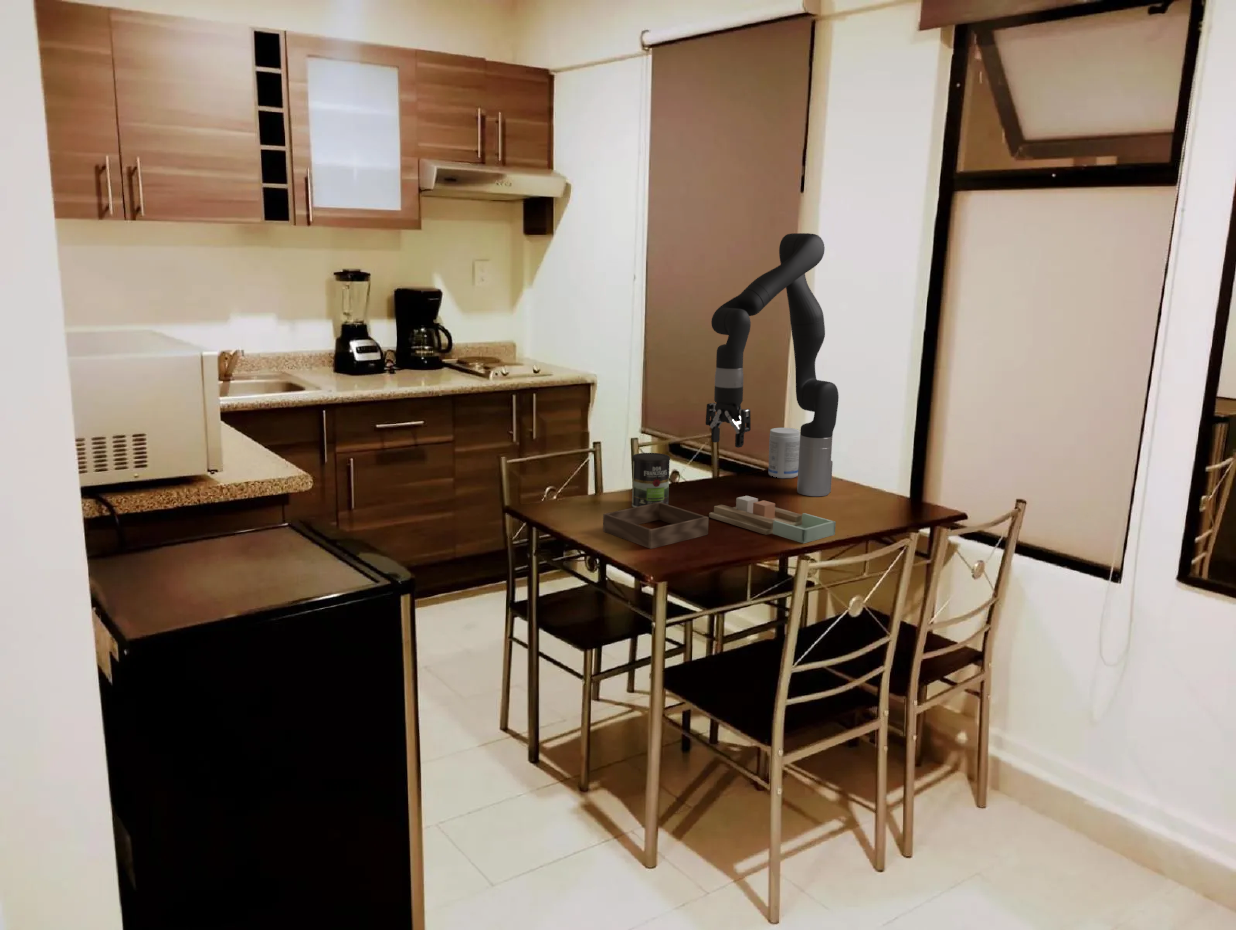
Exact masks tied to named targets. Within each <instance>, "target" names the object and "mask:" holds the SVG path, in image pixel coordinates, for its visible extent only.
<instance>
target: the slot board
mask: <svg viewBox="0 0 1236 930" xmlns="http://www.w3.org/2000/svg"><path fill="white" fill-rule="evenodd" d="M708 517H709V518H711V519H713V520H717V521H721V522H724V523H727V524H731V525H733V526H737V527H740V528H743V529H747V530H750V531H753V532H756V533H759V534H763V535H770V534H773V521H775V520H776V521H780V522H783V523H786V524H790V525H793V526H799V525H802V514H801V513H797V512H794V511H790V510H787V509H783V508H779V507H776V506H775V518H773V519H770V518H766V517H763V516H759V515H756V514H752V513H749V512H746V511H742V510H739V509H736V506H733V507H731V506H728V505H724V504H719V505H714V506H713V511H712V512H711V511H710V512H709V514H708Z"/></svg>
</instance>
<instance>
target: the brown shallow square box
mask: <svg viewBox="0 0 1236 930" xmlns="http://www.w3.org/2000/svg"><path fill="white" fill-rule="evenodd" d="M602 516H603V517H602V519H603V520H602V532H604V533H607V534H610V535H611V536H612V535H613V536H615V537H618V538H620V539H623V540H626V541H629V542H631V543H633V544H637V545H640V546H642V547H645V548H647V549H656V548H660V547H664V546H667V545H671V544H677V543H680V542H684V541H687V540H692V539H696V538H700V537H703V536H707V535H709V521H710V520H709V518H710V517H709V516H706V515H704V514H699V513H697V512H694V511H691V510H686V509H684V508H681V507H677V506H673V505H670V504H669V503H668V504H664V503H661V502H658V503H653V504H648V505H644V506H639V507H630V508H625V509H621V510H620V509H619V510H615V511H612V512H607V513H605V512H604V513H603V514H602ZM655 521H662V522H664V523H665V522H666V523H668V524H667V525H664V526H660V527H655V528H649V527H646V526H643V525H641V524H645V523H646V524H647V523H651V522H655Z"/></svg>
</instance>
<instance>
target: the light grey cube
mask: <svg viewBox="0 0 1236 930" xmlns="http://www.w3.org/2000/svg"><path fill="white" fill-rule="evenodd" d="M758 501H759V498H756V497H753V496H749V495H745V496H744V495H743V496H739V497H736V500H735V504H736V505H735V507H736V509H739V510H742V511H746V512H749V513H752V514H753V503H754V502H758Z"/></svg>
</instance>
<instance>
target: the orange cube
mask: <svg viewBox="0 0 1236 930" xmlns="http://www.w3.org/2000/svg"><path fill="white" fill-rule="evenodd" d="M775 507H776V503H775V502H771V501H767V500H760V501H759V500H758V502H754V503H753V514H756V515H759V516H763V517H766V518H770V519H773V518H775Z"/></svg>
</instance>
